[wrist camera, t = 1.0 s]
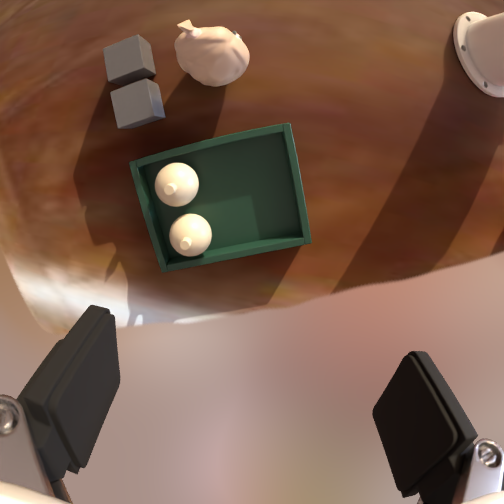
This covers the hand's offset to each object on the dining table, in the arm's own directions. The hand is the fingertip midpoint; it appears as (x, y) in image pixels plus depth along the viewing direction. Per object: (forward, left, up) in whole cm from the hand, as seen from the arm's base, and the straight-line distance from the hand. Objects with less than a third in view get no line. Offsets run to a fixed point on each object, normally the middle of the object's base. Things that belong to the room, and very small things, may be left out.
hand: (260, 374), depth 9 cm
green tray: (+3, -1, -26) cm, 26 cm away
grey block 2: (+9, -13, -26) cm, 30 cm away
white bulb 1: (+7, -4, -25) cm, 27 cm away
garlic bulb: (+1, -15, -26) cm, 30 cm away
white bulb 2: (+7, +2, -25) cm, 26 cm away
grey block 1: (+9, -18, -26) cm, 33 cm away
